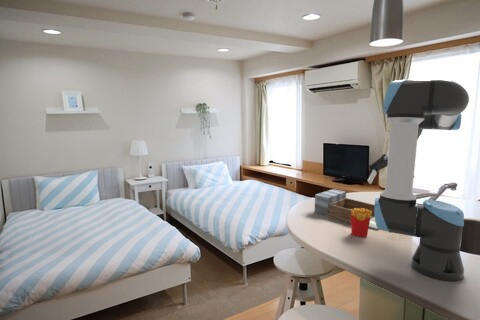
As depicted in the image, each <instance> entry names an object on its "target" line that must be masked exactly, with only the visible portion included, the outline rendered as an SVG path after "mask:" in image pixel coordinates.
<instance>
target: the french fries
mask: <svg viewBox="0 0 480 320" xmlns="http://www.w3.org/2000/svg"><path fill="white" fill-rule="evenodd" d="M371 214H372V211H371V210H370V211H369V210H367V209H366V212H365V208H361V209H359V208H357V209H356V208H354V211H353V209H351V223H350V227H351V228H350V229H351V236H354V237H358V236H359V237H360V238H367V237H368V234H369V233H368V232H369V229H370V228H369V223H370V218H371V217H370V216H371Z"/></svg>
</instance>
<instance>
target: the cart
mask: <svg viewBox="0 0 480 320" xmlns="http://www.w3.org/2000/svg"><path fill="white" fill-rule="evenodd" d="M374 207H375V203H371V202H370V203H369V202H364V201H361V200H357V199H351V198H347V191H344V190H339V189H334V188H332V189H329V190H325V191H323V192H318V193H316V194H315V196H314V213H315V214H318V215H321V216H324V217H325V216H326V217H328V218H332V219H334V220H335V219H336V220H339V221H342V222H345V223H349V224H351V209H353V211H354V208H356V209H357V208H359V209H361V208H365V212H366V209H367V210H369V211H370V210H371V211H372V214H371V216H370V217H371V218H370V223H369V228H368V229H370V230H373V231H374V230H375V231H379V230H380V229H378V228H377V226H376V222H375V213H374Z"/></svg>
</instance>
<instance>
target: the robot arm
mask: <svg viewBox="0 0 480 320" xmlns="http://www.w3.org/2000/svg"><path fill="white" fill-rule="evenodd" d="M469 102H470V98H469V93H468V92H467V90H466V88H465V87H464V86H462V85H461V84H460V83H458V82H456V81H454V80H450V79H446V78H439V77H438V78H420V79H419V78H418V79H415V78H414V79H413V78H411V79H410V78H409V79H400V80H393V81H391V82H390V83H389V84H388V86H387V88H386V91H385V96H384V100H383V106H382V113H383V114H384V115H387V116H386V120H387V121H388V122H389V123H390V132H389V142H388V143H389V144H388V145H389V146H388V155H386V154H385V153H383V154H382V155H381V156H380V157H379V158H378V159H377V160H375V161H374V162H372V164H371V165H369V166H368V168H369V170H370V173H369V174H368V176H369V177H368V178H367V182H368V184H369V185H371V184H372V183H373V181H374V179H375V177H376V175H378V173H377V172H378V171H380V170H382V169H385V168H386V178H385V188H384V190H383V191H382V192H380V193H379V197H376V198H375V200H374V205H375V207H374V213H375V222H376V226H377V228H378V229H379V230H380V231H383V232H388V233H392V234H399V235H403V236H410V237H415V238H419V244H418V246H417V247H416V250H415V251H414V254H413V255H412V257H411V266H412V267H413V269H415V271H416V272H418V273H420V274H423V275H425V276H427V277H429V278H432V279H435V280H439V281H440V280H441V281H446V282H447V281H448V282H449V281H450V282H454V281H455V282H456V281H460V280H462V279H463V278H464V275H465V266H464V263H463V260H462V256H461V252H460V251H461V246H462V238H463V228H464V226H465V223H464V222H465V220H464V218H465V214H464V211H463V210H462V209H460V208H459V207H458V206H455V205H454V204H451V203H448V202H444V201H441V200H436V199H425V200H424V201H423V202H422V203H419V202H418V203H417V196H416V195H415V194H414V193H413V187H414V186H413V185H414V178H415V167H416V159H417V158H416V156H417V145H418V140H419V139H420V136H421V135H422V132H423V130H439V131H440V130H441V131H442V130H443V131H458V130H460V129H461V124H462V113H463V112H464V111H465V110H466V109H467V107H468V104H469Z"/></svg>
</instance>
